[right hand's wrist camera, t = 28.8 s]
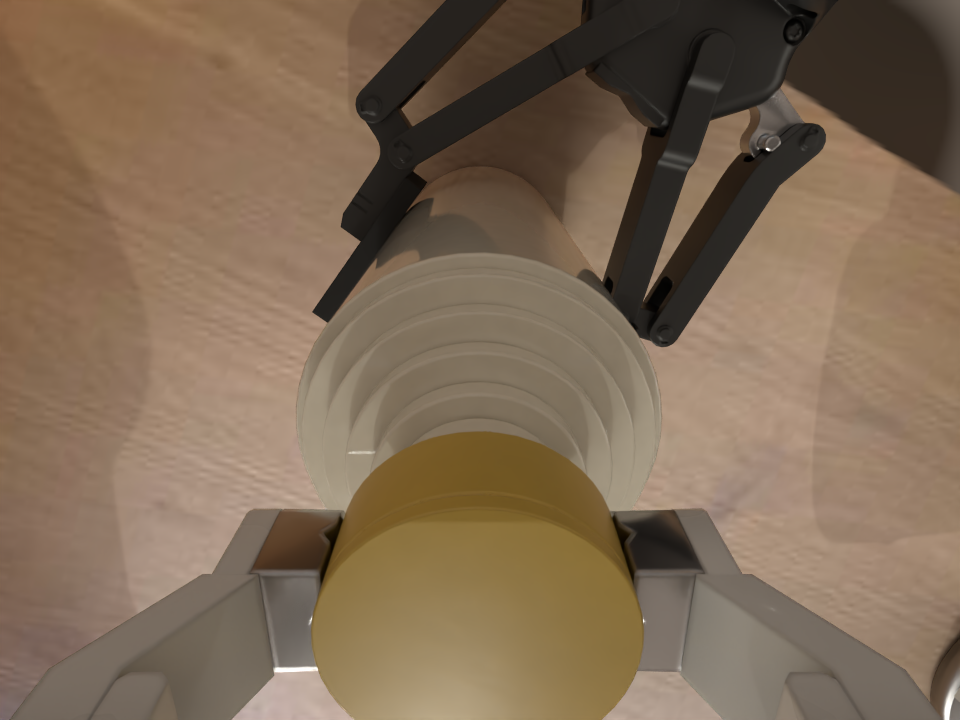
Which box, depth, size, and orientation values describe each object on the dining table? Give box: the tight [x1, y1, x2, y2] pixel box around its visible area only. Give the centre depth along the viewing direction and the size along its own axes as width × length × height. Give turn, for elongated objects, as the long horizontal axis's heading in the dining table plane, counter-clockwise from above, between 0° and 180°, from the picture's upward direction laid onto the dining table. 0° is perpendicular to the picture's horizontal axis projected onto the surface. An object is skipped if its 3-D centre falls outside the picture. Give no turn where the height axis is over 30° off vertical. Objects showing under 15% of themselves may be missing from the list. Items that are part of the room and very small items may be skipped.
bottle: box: [296, 166, 662, 513], centre depth 21 cm, size 8×8×25 cm
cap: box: [311, 431, 644, 720], centre depth 9 cm, size 4×4×2 cm
